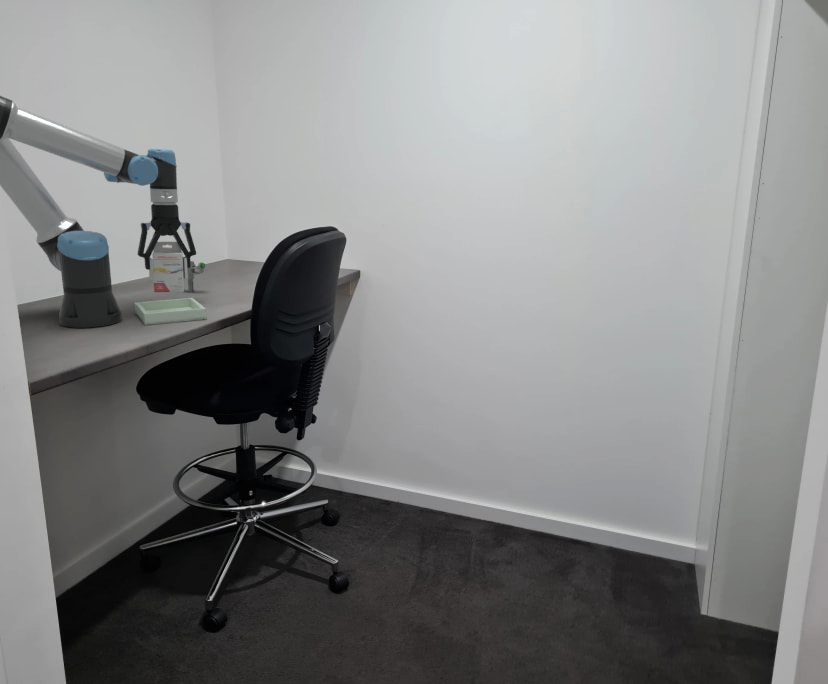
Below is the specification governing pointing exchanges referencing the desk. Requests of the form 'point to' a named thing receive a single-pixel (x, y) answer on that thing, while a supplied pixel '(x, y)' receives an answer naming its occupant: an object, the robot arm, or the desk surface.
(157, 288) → the ink cartridge box
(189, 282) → the mechanical component
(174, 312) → the tray
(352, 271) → the desk surface
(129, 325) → the desk surface
